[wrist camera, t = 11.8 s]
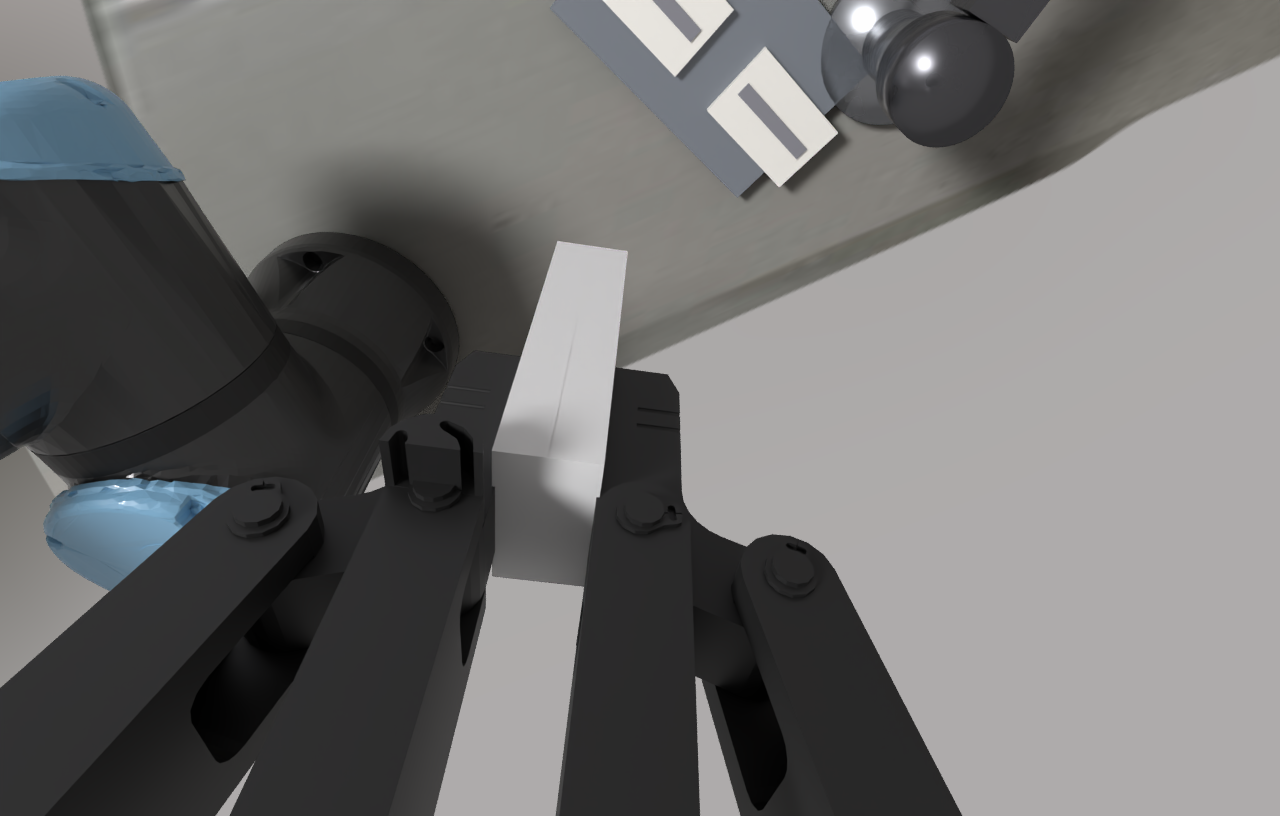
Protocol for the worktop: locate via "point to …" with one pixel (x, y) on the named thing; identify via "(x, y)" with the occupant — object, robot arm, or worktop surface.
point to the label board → (726, 75)
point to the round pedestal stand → (872, 46)
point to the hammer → (952, 69)
